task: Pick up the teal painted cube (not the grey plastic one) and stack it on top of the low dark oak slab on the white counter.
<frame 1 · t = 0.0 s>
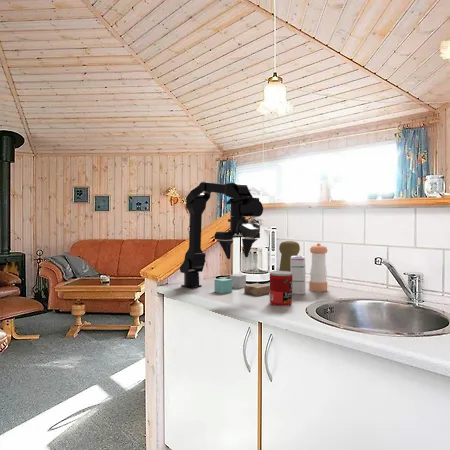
hand: (237, 258, 152), 15 cm above the worktop, tool pointing down, fingers open, 9 cm apart
teal cube: (223, 291, 163), on the worktop
syrup box: (297, 293, 161), on the worktop
canned food: (280, 304, 142), on the worktop
pepper shaker 2: (318, 290, 167), on the worktop
pepper shaker: (289, 284, 180), on the worktop
grey cube: (237, 286, 174), on the worktop
oak slab: (257, 293, 160), on the worktop
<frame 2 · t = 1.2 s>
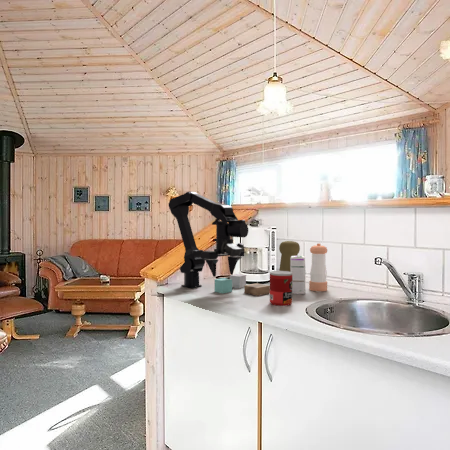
hand: (223, 275, 162), 7 cm above the worktop, tool pointing down, fingers open, 9 cm apart
nothing on the worktop moved.
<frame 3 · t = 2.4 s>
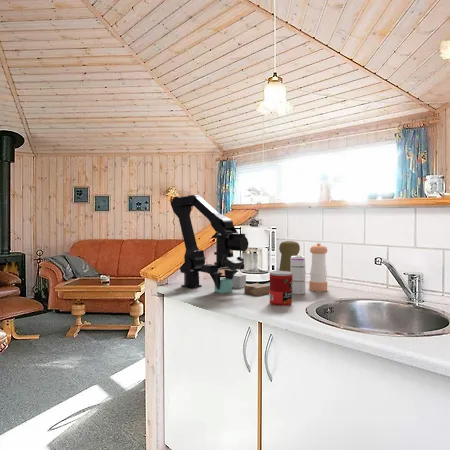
hand: (223, 288, 163), 1 cm above the worktop, tool pointing down, fingers closed on teal cube, 5 cm apart
teal cube: (223, 291, 163), on the worktop, touching gripper
everything else where it was.
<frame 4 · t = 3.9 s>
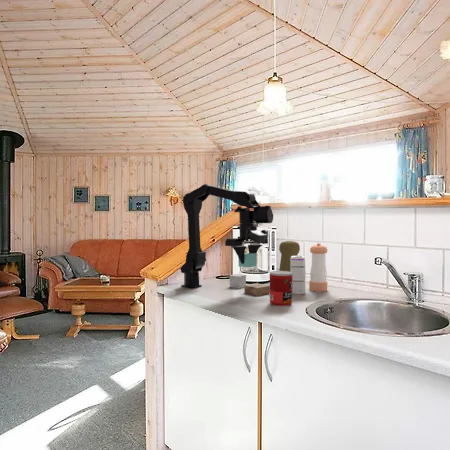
hand: (247, 263, 160), 12 cm above the worktop, tool pointing down, fingers closed on teal cube, 5 cm apart
teal cube: (247, 266, 160), point 11 cm above the worktop, touching gripper
everything else where it was.
when the fingers open (5 cm above the worktop, at t = 5.6 s): teal cube drops 1 cm, resting on oak slab.
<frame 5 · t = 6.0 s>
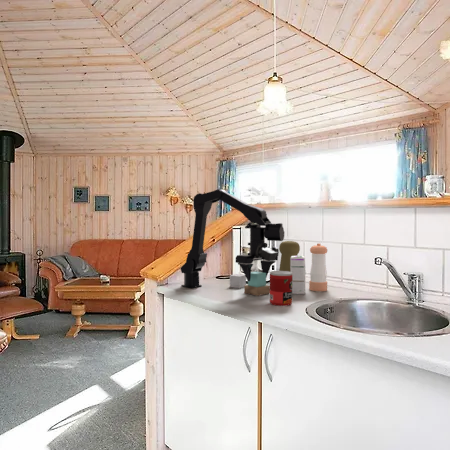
hand: (257, 279, 160), 5 cm above the worktop, tool pointing down, fingers open, 9 cm apart
teal cube: (257, 285, 160), point 3 cm above the worktop, touching oak slab
everything else where it was.
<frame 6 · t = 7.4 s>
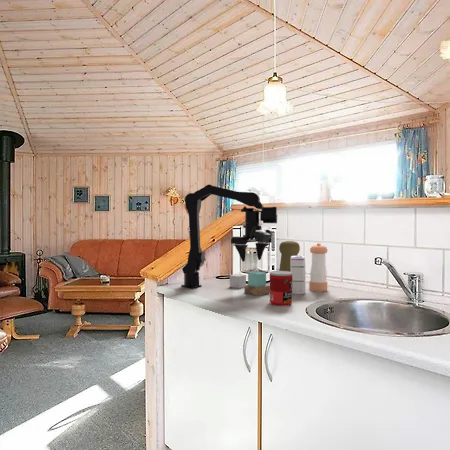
hand: (251, 260, 168), 12 cm above the worktop, tool pointing down, fingers open, 9 cm apart
nothing on the worktop moved.
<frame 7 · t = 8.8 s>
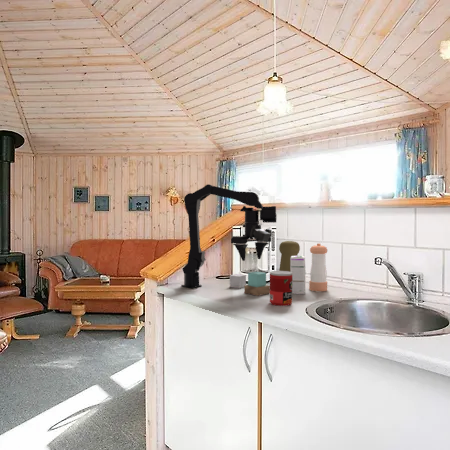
hand: (251, 259, 169), 12 cm above the worktop, tool pointing down, fingers open, 9 cm apart
nothing on the worktop moved.
at the end: teal cube 0.0 cm off-centre on the oak slab, point 3.0 cm above the oak slab's base; teal cube tilted 0°; the gripper is holding nothing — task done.
